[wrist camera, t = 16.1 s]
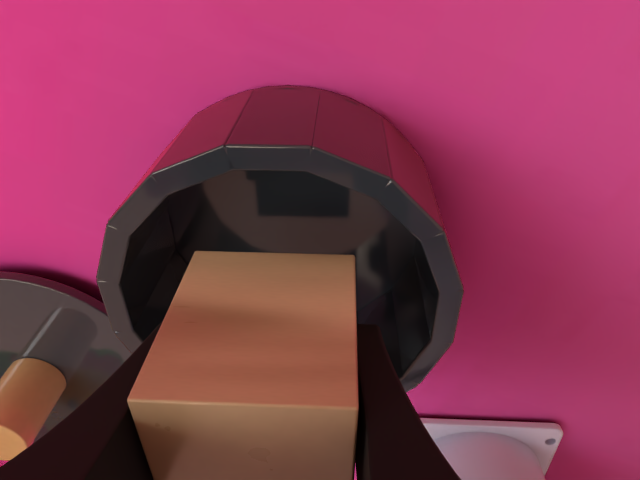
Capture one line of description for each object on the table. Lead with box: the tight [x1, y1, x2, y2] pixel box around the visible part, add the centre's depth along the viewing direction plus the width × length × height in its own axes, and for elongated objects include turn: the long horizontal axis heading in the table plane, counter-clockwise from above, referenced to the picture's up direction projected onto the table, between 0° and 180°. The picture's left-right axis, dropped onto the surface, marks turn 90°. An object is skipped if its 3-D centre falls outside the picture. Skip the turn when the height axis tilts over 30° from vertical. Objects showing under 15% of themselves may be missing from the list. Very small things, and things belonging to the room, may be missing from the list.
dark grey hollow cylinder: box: [96, 85, 464, 392], centre depth 17 cm, size 11×11×5 cm
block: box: [127, 251, 359, 480], centre depth 12 cm, size 4×4×5 cm
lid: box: [0, 271, 131, 461], centre depth 22 cm, size 12×12×4 cm
